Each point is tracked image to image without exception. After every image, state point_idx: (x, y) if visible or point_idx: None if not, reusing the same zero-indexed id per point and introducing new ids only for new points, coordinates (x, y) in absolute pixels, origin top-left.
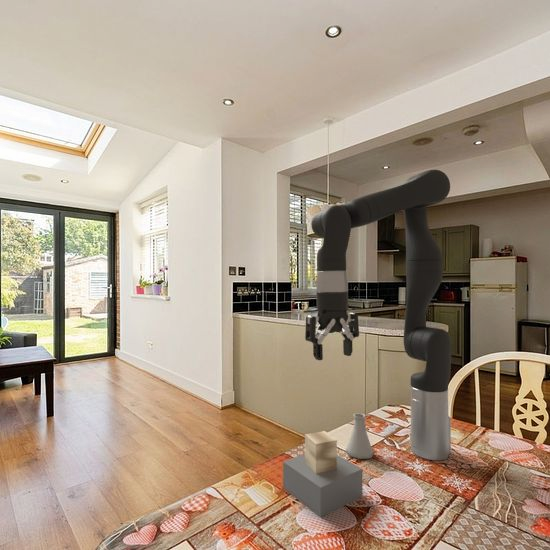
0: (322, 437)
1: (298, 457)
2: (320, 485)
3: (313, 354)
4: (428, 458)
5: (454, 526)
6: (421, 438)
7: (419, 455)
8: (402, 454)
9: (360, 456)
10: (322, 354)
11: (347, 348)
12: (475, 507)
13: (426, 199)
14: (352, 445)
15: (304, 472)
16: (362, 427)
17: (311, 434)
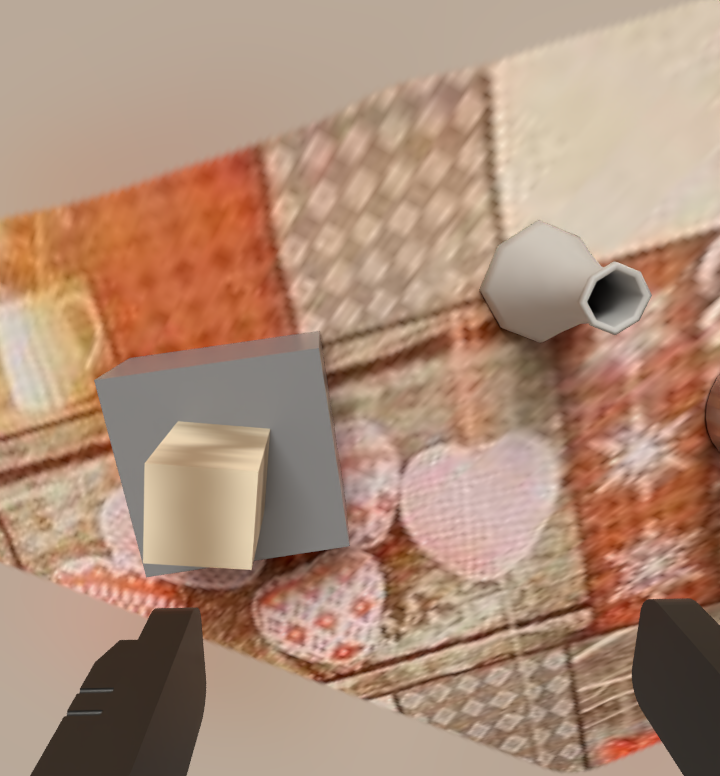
0: (206, 524)
1: (170, 378)
2: (153, 567)
3: (91, 671)
4: (714, 443)
5: (461, 679)
6: None
7: (708, 415)
8: (672, 368)
9: (506, 327)
10: (186, 767)
11: (691, 746)
12: (577, 655)
13: None
14: (508, 294)
15: (139, 482)
16: (583, 321)
17: (174, 477)
